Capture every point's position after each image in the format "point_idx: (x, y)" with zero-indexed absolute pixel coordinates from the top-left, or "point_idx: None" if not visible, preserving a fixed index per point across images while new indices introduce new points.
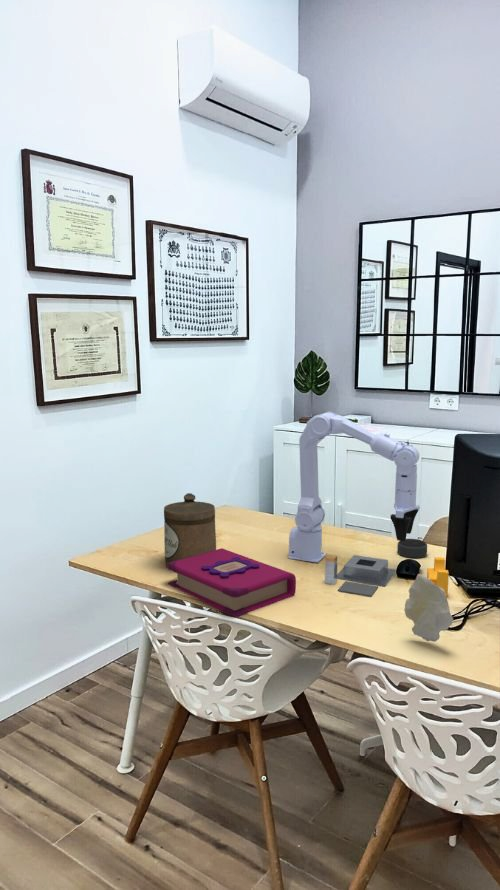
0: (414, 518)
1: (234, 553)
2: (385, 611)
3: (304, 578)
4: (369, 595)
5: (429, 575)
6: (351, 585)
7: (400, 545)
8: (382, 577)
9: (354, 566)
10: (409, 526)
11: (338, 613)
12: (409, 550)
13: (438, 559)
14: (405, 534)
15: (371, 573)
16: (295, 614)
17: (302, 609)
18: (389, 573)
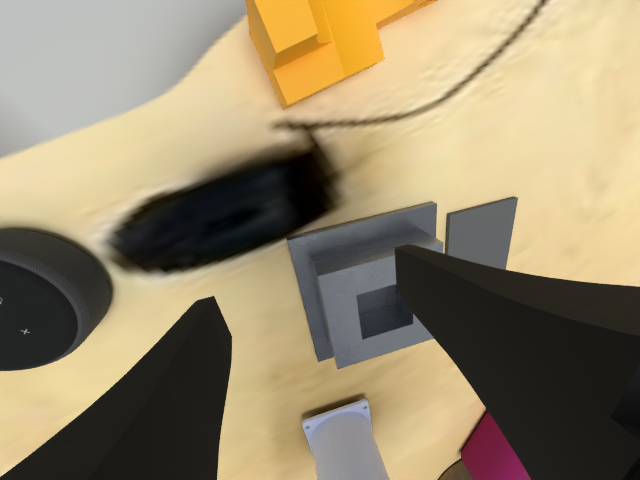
0: (103, 413)
1: (518, 477)
2: (595, 119)
3: (451, 360)
4: (516, 202)
5: (355, 67)
6: None
7: (83, 336)
8: (383, 238)
9: None
10: (201, 348)
11: (613, 209)
12: (86, 287)
13: (305, 7)
14: (450, 259)
15: None
16: (621, 268)
17: (600, 272)
18: (338, 238)
